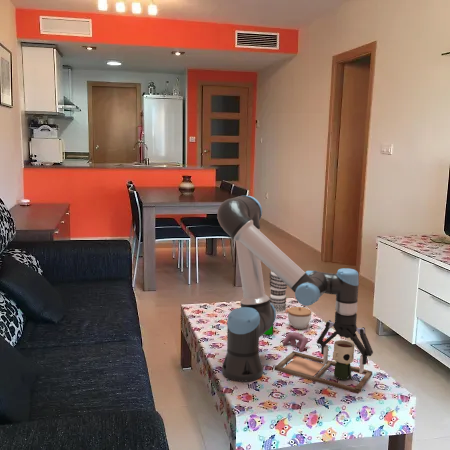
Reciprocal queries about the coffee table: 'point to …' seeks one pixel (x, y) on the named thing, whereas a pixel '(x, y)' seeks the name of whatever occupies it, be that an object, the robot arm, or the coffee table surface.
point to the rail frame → (316, 370)
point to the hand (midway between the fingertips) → (343, 367)
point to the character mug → (343, 358)
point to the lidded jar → (299, 317)
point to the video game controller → (293, 337)
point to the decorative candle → (277, 293)
